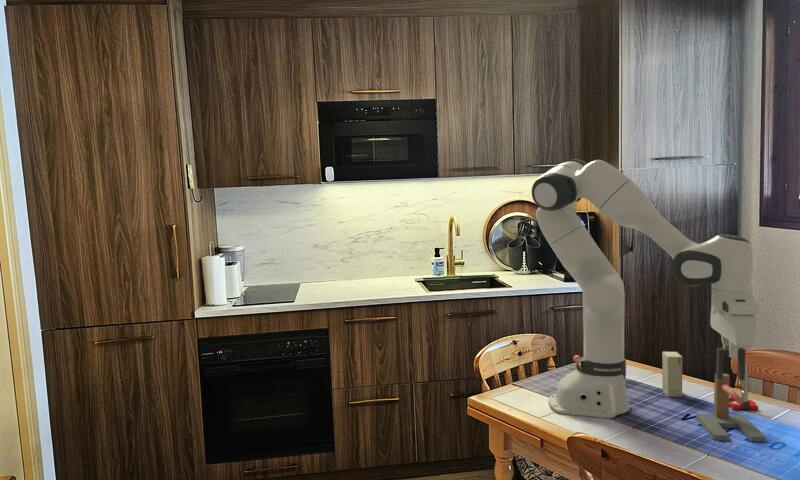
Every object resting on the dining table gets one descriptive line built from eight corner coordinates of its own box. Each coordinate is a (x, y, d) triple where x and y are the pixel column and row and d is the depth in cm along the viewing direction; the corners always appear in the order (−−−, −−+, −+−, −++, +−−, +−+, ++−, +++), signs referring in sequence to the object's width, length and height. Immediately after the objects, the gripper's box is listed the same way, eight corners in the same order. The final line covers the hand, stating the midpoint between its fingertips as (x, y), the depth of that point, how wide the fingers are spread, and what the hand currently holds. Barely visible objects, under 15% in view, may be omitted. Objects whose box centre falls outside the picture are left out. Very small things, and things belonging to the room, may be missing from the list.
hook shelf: (714, 439, 152) (715, 390, 151) (695, 417, 166) (696, 372, 164) (766, 441, 150) (767, 391, 149) (743, 419, 164) (744, 373, 163)
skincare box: (682, 397, 181) (683, 357, 180) (667, 397, 182) (667, 357, 180) (676, 390, 187) (677, 351, 186) (661, 389, 188) (662, 350, 187)
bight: (718, 379, 151) (719, 349, 151) (716, 377, 153) (716, 347, 152) (744, 380, 150) (745, 350, 149) (741, 377, 152) (742, 348, 151)
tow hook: (717, 400, 179) (729, 410, 170) (718, 356, 179) (730, 364, 170) (748, 401, 178) (761, 411, 169) (748, 357, 177) (762, 365, 168)
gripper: (704, 292, 160) (703, 343, 162) (732, 309, 140) (730, 367, 142) (730, 292, 159) (728, 344, 161) (762, 309, 139) (760, 368, 141)
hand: (730, 355), depth 151 cm, fingers closed on bight, 2 cm apart
